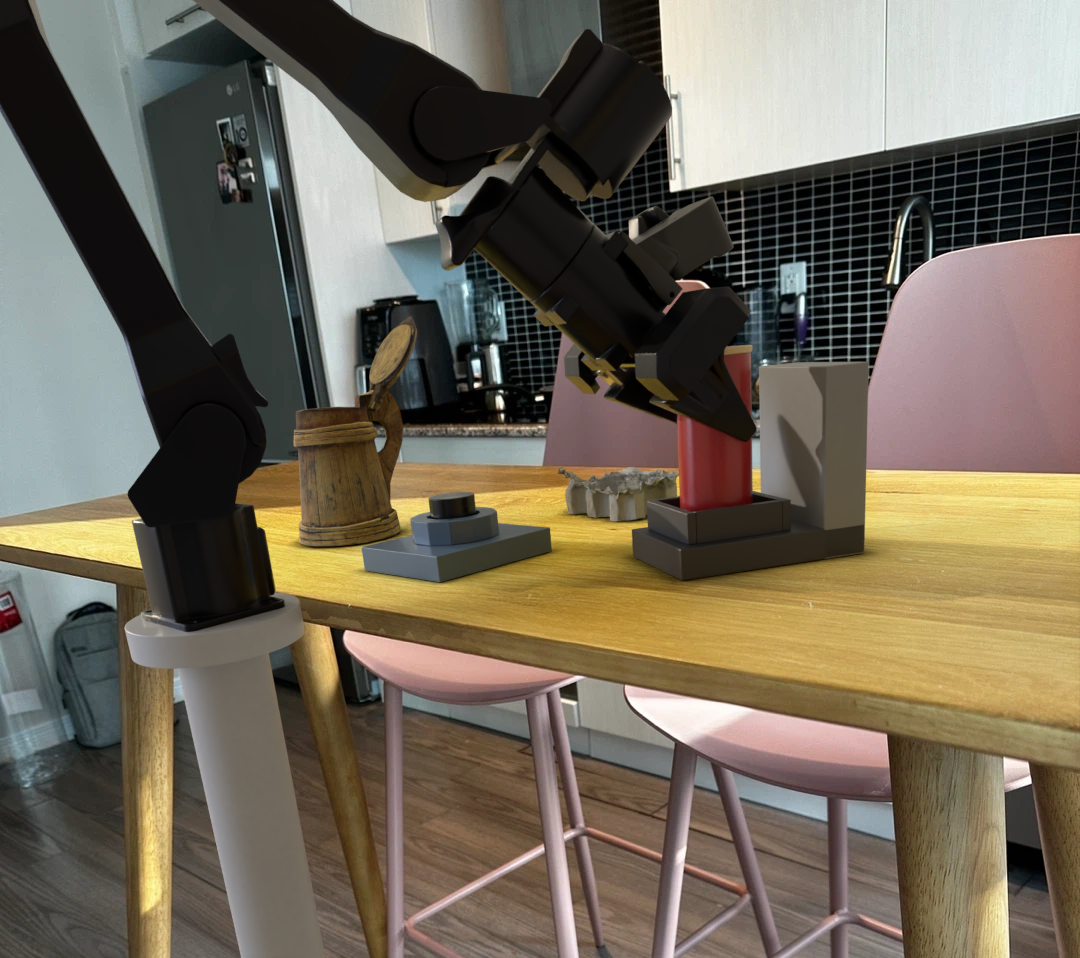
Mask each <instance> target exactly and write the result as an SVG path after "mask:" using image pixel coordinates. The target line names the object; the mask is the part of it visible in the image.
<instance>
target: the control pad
mask: <svg viewBox="0 0 1080 958" xmlns="http://www.w3.org/2000/svg"><path fill="white" fill-rule="evenodd" d="M476 514H477V515H473V516H468V517H463V518H455V519H438V520H436V519H431V516H430V511H427V512H423V513H419V514H416V515H414V516H412V517H410V518H409V520H410V521H409V522H410V529H411V535H405V536H403V537H398V538H394V539H390V540H386V541H381V542H376V543H373V544H368V545H364V546H361V554H362V555H361V556H362V559H363V561H362V562H363V567H364V571H366V572H372V573H377V574H384V575H389V576H390V575H392V576H397V577H404V578H410V579H417V580H422V581H423V580H424V581H430V582H437V583H443V582H446V581H451V580H453V579H456V578H461V577H464V576H468V575H471V574H474V573H479V572H482V571H485V570H490V569H492V568H496V567H500V566H503V565H504V566H505V565H507V564H511V563H514V562H518V561H522V560H524V559H529V558H531V557H532V558H533V557H535V556H539V555H542V554H546V553H551V552H553V547H552V546H553V545H552V535H551V527H549V526H548V527H547V526H537V525H524V524H513V523H503V522H499V517H498V510H496V509H495V508H493V507H488V506H487V507H485V506H476Z"/></svg>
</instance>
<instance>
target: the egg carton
mask: <svg viewBox="0 0 1080 958" xmlns="http://www.w3.org/2000/svg"><path fill="white" fill-rule="evenodd" d="M557 474H558V475H560V476H561V475H562V476H563V477H564V478H565V479H569V478H570V479H569V483H568V485H567V486H566V488H565V491H564V498H565V505H566V511H567V513H568V514H569V515H580V514H587V517H588V518H607V517H609V519H610V520H609V521H611V522H626V521H636V520H640V519H645V518H646V516H647V500H655V499H662V498H670V497H677V496H678V488H677V487H678V485H677V484H678V483H677V478H679V471H678V472H675V471H674V470H671V471H670V472H668V471H665V470H662V469H660V468H657V469H656V470H655V471H651V470H647V471H643V470H641V469H639V468H637V467H635V466H629V467H625V468H623V469H622V470H619V471H611V472H609V473H608V472H605V473H604V475H603V476H602V477H599V478H598V477H596V476H595V474H592V475H590V476H589V479H588V480H587V479H583V478H581V477H579V476H577V474H576V473H575V472H573V471H567V470H566V469H565V468H563V467H559V468H558V470H557Z"/></svg>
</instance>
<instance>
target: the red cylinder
mask: <svg viewBox="0 0 1080 958" xmlns="http://www.w3.org/2000/svg"><path fill="white" fill-rule="evenodd" d="M752 353H753V344H742V345H727V347H726V348H725V351H724V361H725V364H726V366H727V369H728V371H729V373H730V375H731V378H732V380H733V382H734V384H735V386H736V388H737V390H738V392H739V394H740V396H741V398H742V400H743V402H744V404H745V406H746V408H747V409H748V411H749V413H750V415H751V417H752V418H753V416H752V415H753V414H752V413H753V411H752V405H753V403H752V401H753V400H752ZM676 432H677V433H676V434H677V457H678V458H677V459H678V462H677V463H678V472H679V475H678V483H679V484H678V486H679V496H680V508H681V509H684V510H688V511H691V512H693V511H701V510H708V509H715V508H723V507H730V506H737V505H745V504H752V503H753V491H754V490H753V486H754V485H753V484H754V483H753V482H754V481H753V480H754V479H753V436H752V437H751V439H750V440H749V441H747V442H743V441H741V440H738V439H736V438H733V437H731V436H728V435H726V434H723V433H721V432H719V431H716V430H714V429H711V428H709V427H707V426H704V425H702V424H700V423H697V422H695V421H692V420H690V419H688V418H685V417H683V416H681V415H678V414H677V424H676Z"/></svg>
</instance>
